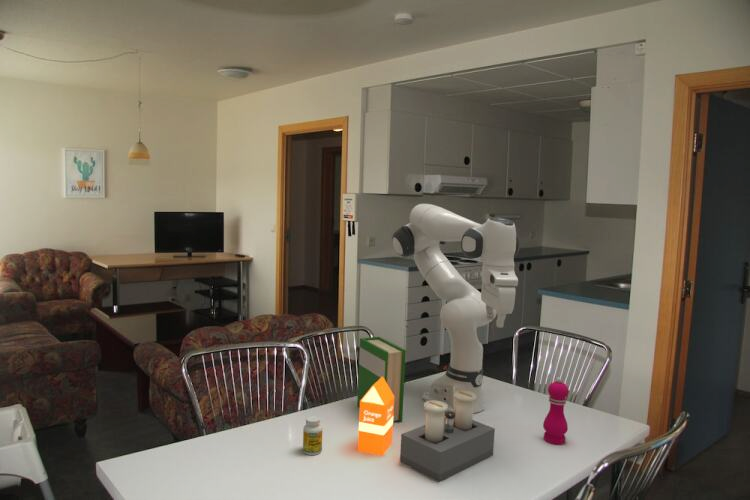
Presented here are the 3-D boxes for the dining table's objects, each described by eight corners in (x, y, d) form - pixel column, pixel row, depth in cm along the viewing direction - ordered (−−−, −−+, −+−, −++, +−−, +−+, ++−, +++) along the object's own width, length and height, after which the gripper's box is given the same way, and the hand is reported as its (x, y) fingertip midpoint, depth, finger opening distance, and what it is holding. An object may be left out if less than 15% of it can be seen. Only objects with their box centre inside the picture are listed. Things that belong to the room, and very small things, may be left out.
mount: (399, 461, 156) (401, 434, 155) (454, 438, 172) (456, 413, 172) (439, 482, 146) (440, 452, 145) (493, 455, 162) (494, 428, 162)
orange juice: (392, 443, 167) (395, 377, 165) (383, 455, 159) (386, 386, 157) (367, 438, 170) (370, 373, 168) (357, 450, 162) (360, 382, 160)
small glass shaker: (441, 430, 158) (442, 412, 158) (448, 428, 160) (449, 410, 160) (449, 434, 156) (450, 416, 156) (456, 431, 158) (457, 413, 158)
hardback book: (402, 422, 183) (405, 350, 181) (382, 425, 180) (385, 352, 177) (376, 403, 199) (379, 336, 196) (357, 406, 195) (360, 338, 193)
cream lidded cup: (447, 427, 163) (449, 392, 162) (461, 421, 167) (463, 388, 166) (465, 434, 158) (467, 399, 157) (478, 428, 163) (481, 394, 162)
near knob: (417, 439, 154) (419, 402, 153) (432, 433, 158) (434, 397, 157) (435, 447, 149) (437, 409, 148) (450, 441, 154) (452, 404, 153)
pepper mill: (568, 446, 170) (573, 382, 168) (543, 443, 172) (548, 379, 170) (565, 436, 177) (570, 375, 175) (541, 434, 179) (545, 372, 177)
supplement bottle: (317, 445, 164) (318, 413, 163) (324, 453, 159) (325, 420, 158) (299, 449, 161) (300, 416, 160) (306, 457, 156) (307, 423, 155)
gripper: (477, 269, 170) (474, 315, 171) (497, 280, 150) (493, 331, 151) (497, 270, 171) (494, 315, 172) (520, 280, 150) (516, 331, 152)
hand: (494, 323), depth 161 cm, fingers open, 8 cm apart
